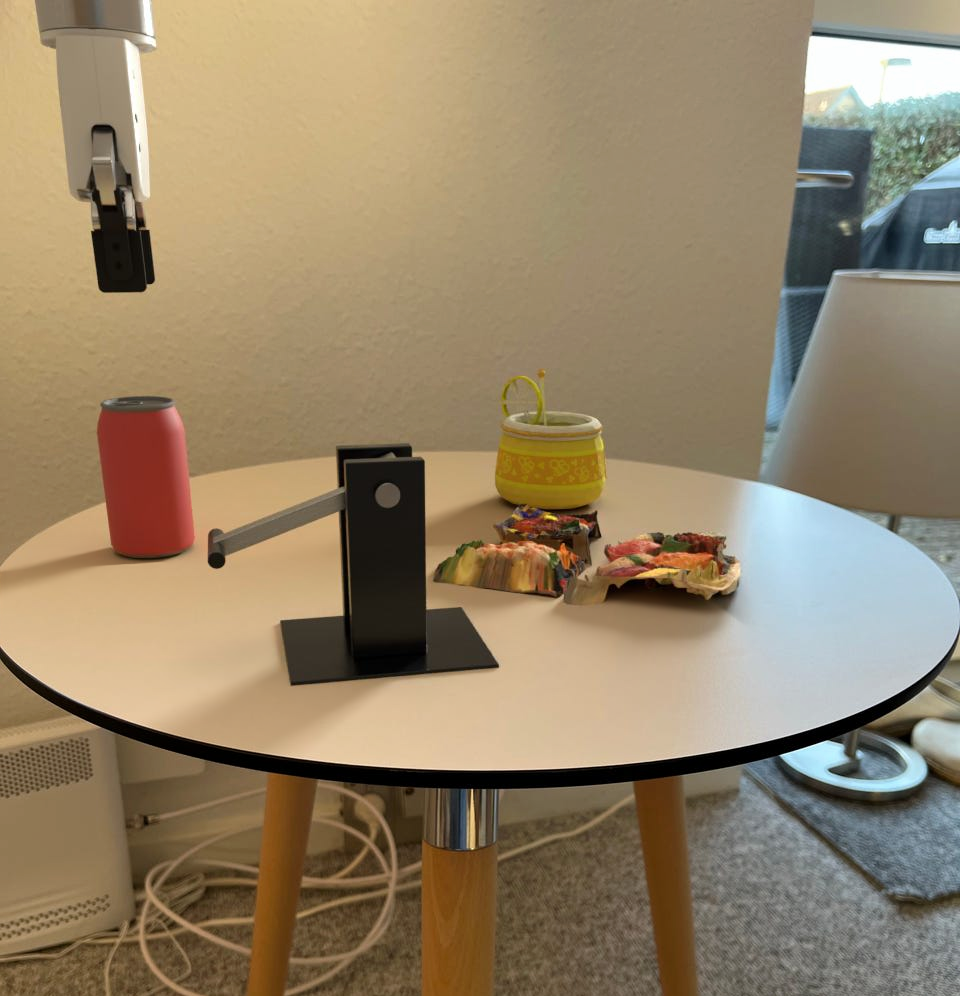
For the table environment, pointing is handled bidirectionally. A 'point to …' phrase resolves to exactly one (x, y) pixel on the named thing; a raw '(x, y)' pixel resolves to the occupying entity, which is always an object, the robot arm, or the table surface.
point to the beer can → (145, 476)
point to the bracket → (382, 584)
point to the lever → (274, 524)
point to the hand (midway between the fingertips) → (129, 287)
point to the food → (587, 559)
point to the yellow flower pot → (548, 454)
